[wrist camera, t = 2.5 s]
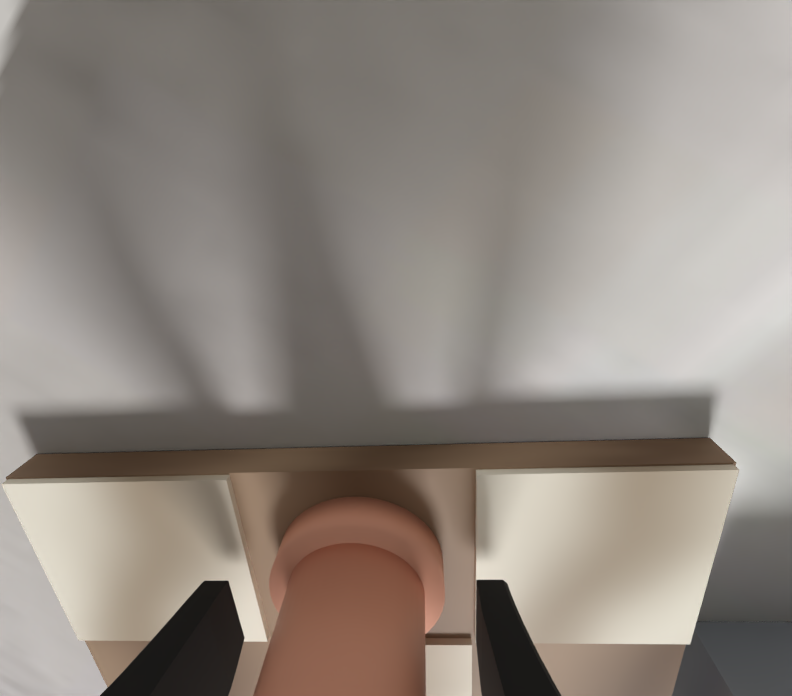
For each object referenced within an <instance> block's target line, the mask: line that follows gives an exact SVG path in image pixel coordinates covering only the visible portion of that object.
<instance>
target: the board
mask: <svg viewBox="0 0 792 696" xmlns="http://www.w3.org/2000/svg"><path fill="white" fill-rule="evenodd" d="M735 465H736V462H735V461H734V460H733V459H732V458H731V457H730V456H729V455H728V454H727V453H725V452H724V451H723V450H722V449H721V448H720V447H719V446H718V445H717V444H716V443H715V442H714V441H713V440H712V439H710V438H686V439H645V440H604V441H563V442H522V443H481V444H440V445H399V446H358V447H317V448H276V449H235V450H194V451H153V452H112V453H70V454H36V455H35V456H34V457H32V458H31V459H30V460H28V461H27V462H26V463H24V464H23V465H22V466H20V467H19V468H18V469H16V470H15V471H14V472H12V473H11V474H10V475H8V476H7V477H6V479H7V480H6V481H5V482H4V483H2V486H3V488H4V490H5V492H6V494H7V497H8V499H9V501H10V503H11V505H12V507H13V509H14V511H15V513H16V515H17V517H18V519H19V521H20V523H21V525H22V527H23V529H24V531H25V533H26V535H27V537H28V539H29V541H30V543H31V545H32V547H33V549H34V551H35V553H36V555H37V557H38V559H39V561H40V563H41V565H42V567H43V569H44V571H45V573H46V575H47V577H48V579H49V581H50V583H51V585H52V588H53V590H54V592H55V594H56V596H57V598H58V600H59V602H60V604H61V606H62V608H63V610H64V612H65V614H66V616H67V618H68V620H69V622H70V624H71V626H72V628H73V630H74V632H75V634H76V636H77V638H78V640H84V641H85V642H86V644H87V646H88V648H89V650H90V652H91V654H92V656H93V658H94V660H95V662H96V664H97V666H98V668H99V670H100V673H101V675H102V677H103V679H104V681H105V683H106V685H107V687H109V686H110V685H111V684H112V683H113V682H114V681H115V680H116V678H117V677H118V676H119V675H120V674H121V673H122V672H123V671H124V670H125V669H126V668H127V667H128V665H129V664H130V663H131V662H132V661H133V660H134V659H135V658H136V657H137V656H138V654H139V653H140V652H141V651H142V650H143V649H144V648H145V647H146V646H147V645H148V643H149V642H150V641H151V640H152V639H153V638H154V637H155V636H156V634H157V633H158V632H159V631H160V630H161V629H162V628H163V627H164V625H165V624H166V623H167V622H168V621H169V620H170V619H171V617H172V616H173V615H174V614H175V613H176V612H177V611H178V609H179V608H180V607H181V606H182V605H183V604H184V603H185V601H186V600H187V599H188V598H189V597H190V596H191V595H192V593H193V592H194V591H195V590H196V589H197V588H198V587H199V586H200V585H201V583H202V582H203V581H229V585H230V588H231V592H232V595H233V599H234V602H235V606H236V609H237V613H238V616H239V620H240V623H241V627H242V630H243V634H244V637H245V638H244V642H243V646H242V650H241V654H240V658H239V662H238V665H237V669H236V673H235V676H234V680H233V683H232V687H231V690H230V692H229V695H228V696H253V694H254V691H255V688H256V685H257V682H258V678H259V675H260V672H261V669H262V666H263V663H264V659H265V656H266V653H267V650H268V647H269V643H270V640H271V637H272V634H273V631H274V627H275V624H276V621H277V618H278V615H279V613H278V611H277V610H276V608H275V606H274V604H273V602H272V599H271V596H270V590H269V577H270V573H271V569H272V566H273V564H274V561H275V558H276V555H277V553H278V550H279V547H280V545H281V542H282V539H283V537H284V534H285V532H286V530H287V528H288V527H289V525H290V524H291V523H292V522H293V521H294V519H295V518H296V517H297V516H299V515H300V514H301V513H302V512H304V511H305V510H307V509H308V508H310V507H312V506H314V505H316V504H319V503H321V502H324V501H327V500H331V499H336V498H341V497H368V498H375V499H380V500H384V501H387V502H390V503H393V504H396V505H398V506H400V507H402V508H404V509H406V510H408V511H410V512H411V513H413V514H414V515H416V516H417V517H418V518H420V519H421V520H422V521H423V522H424V523H425V524H426V525H427V526H428V527H429V528H430V529H431V531H432V532H433V534H434V535H435V536H436V538H437V540H438V542H439V544H440V548H441V551H442V556H443V568H444V585H445V603H444V607H443V611H442V613H441V615H440V617H439V619H438V621H437V622H436V624H435V625H434V626H433V627H432V628H431V629H430V630H429V632H427V633H426V634H425V654H426V696H482V694H481V686H480V676H479V666H478V656H477V646H476V580H504V581H505V582H506V583H507V584H508V587H509V590H510V592H511V595H512V597H513V600H514V602H515V605H516V607H517V609H518V612H519V614H520V616H521V618H522V621H523V623H524V625H525V627H526V629H527V631H528V633H529V635H530V637H531V639H532V642H533V644H534V646H535V648H536V649H537V651H538V653H539V655H540V657H541V659H542V661H543V663H544V665H545V667H546V668H547V670H548V672H549V674H550V676H551V678H552V680H553V681H554V683H555V685H556V687H557V689H558V691H559V692H560V694H561V696H672V694H673V690H674V686H675V683H676V679H677V675H678V672H679V668H680V665H681V661H682V657H683V654H684V650H685V646H686V644H690V643H691V640H692V636H693V633H694V629H695V626H696V622H697V618H698V615H699V611H700V608H701V604H702V601H703V597H704V594H705V590H706V586H707V583H708V579H709V576H710V572H711V569H712V565H713V562H714V558H715V554H716V551H717V547H718V544H719V540H720V537H721V533H722V530H723V526H724V522H725V519H726V515H727V512H728V508H729V505H730V501H731V498H732V494H733V490H734V487H735V483H736V480H737V476H738V473H739V469H738V468H737V467H736V466H735Z"/></svg>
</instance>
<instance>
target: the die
mask: <svg viewBox="0 0 792 696" xmlns="http://www.w3.org/2000/svg"><path fill="white" fill-rule="evenodd" d="M672 696H792V622H708V621H697V622H696V626H695V629H694V633H693V636H692V640H691V643H690V644H686V646H685V650H684V654H683V657H682V661H681V665H680V668H679V672H678V675H677V679H676V683H675V686H674V690H673V694H672Z"/></svg>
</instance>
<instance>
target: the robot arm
mask: <svg viewBox="0 0 792 696" xmlns="http://www.w3.org/2000/svg"><path fill="white" fill-rule="evenodd" d="M244 638H245V637H244V634H243V630H242V627H241V623H240V620H239V616H238V613H237V609H236V606H235V602H234V599H233V595H232V592H231V588H230V585H229V581H203V582H202V583H201V585H200V586H199V587H198V588H197V589H196V590H195V591H194V592H193V593H192V595H191V596H190V597H189V598H188V599H187V600H186V601H185V603H184V604H183V605H182V606H181V607H180V608H179V609H178V611H177V612H176V613H175V614H174V615H173V616H172V617H171V619H170V620H169V621H168V622H167V623H166V624H165V625H164V627H163V628H162V629H161V630H160V631H159V632H158V633H157V634H156V636H155V637H154V638H153V639H152V640H151V641H150V642H149V643H148V645H147V646H146V647H145V648H144V649H143V650H142V651H141V652H140V653H139V654H138V656H137V657H136V658H135V659H134V660H133V661H132V662H131V663H130V664H129V665H128V667H127V668H126V669H125V670H124V671H123V672H122V673H121V674H120V675H119V676H118V677H117V678H116V680H115V681H114V682H113V683H112V684H111V685H110V686H109V687H108V688H107V689H106V690H105V691H104V692H103V693H102V694H101V695H100V696H228V695H229V692H230V690H231V687H232V683H233V680H234V676H235V673H236V669H237V665H238V662H239V658H240V654H241V650H242V646H243V642H244ZM476 646H477V656H478V666H479V676H480V686H481V694H482V696H561V694H560V692H559V691H558V689H557V687H556V685H555V683H554V681H553V680H552V678H551V676H550V674H549V672H548V670H547V668H546V667H545V665H544V663H543V661H542V659H541V657H540V655H539V653H538V651H537V649H536V648H535V646H534V644H533V642H532V639H531V637H530V635H529V633H528V631H527V629H526V627H525V625H524V623H523V621H522V618H521V616H520V614H519V612H518V609H517V607H516V605H515V602H514V600H513V597H512V595H511V592H510V590H509V587H508V584H507V583H506V582H505V581H504V580H476Z"/></svg>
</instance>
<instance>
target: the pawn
mask: <svg viewBox="0 0 792 696" xmlns="http://www.w3.org/2000/svg"><path fill="white" fill-rule="evenodd" d="M269 590H270V596H271V599H272V602H273V604H274V606H275V608H276V610H277V611H278V613H279V615H278V618H277V621H276V624H275V627H274V631H273V634H272V637H271V640H270V643H269V647H268V650H267V653H266V656H265V659H264V663H263V666H262V669H261V672H260V675H259V678H258V682H257V685H256V688H255V691H254V694H253V696H426V654H425V634H426V633H427V632H429V630H430V629H431V628H432V627H433V626H434V625H435V624H436V622H437V621H438V619H439V617H440V615H441V613H442V611H443V607H444V603H445V585H444V568H443V556H442V551H441V548H440V544H439V542H438V540H437V538H436V536H435V535H434V534H433V532H432V531H431V529H430V528H429V527H428V526H427V525H426V524H425V523H424V522H423V521H422V520H421V519H420V518H418V517H417V516H416V515H414V514H413V513H411V512H410V511H408V510H406V509H404V508H402V507H400V506H398V505H396V504H393V503H390V502H387V501H384V500H380V499H375V498H368V497H341V498H336V499H331V500H327V501H324V502H321V503H319V504H316V505H314V506H312V507H310V508H308V509H307V510H305V511H304V512H302V513H301V514H300V515H299V516H297V517H296V518H295V519H294V521H293V522H292V523H291V524H290V525H289V527H288V528H287V530H286V532H285V534H284V537H283V539H282V542H281V545H280V547H279V550H278V553H277V555H276V558H275V561H274V564H273V566H272V569H271V573H270V577H269Z"/></svg>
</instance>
